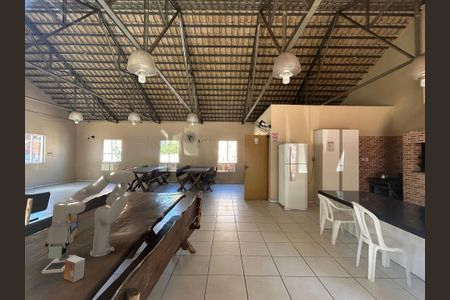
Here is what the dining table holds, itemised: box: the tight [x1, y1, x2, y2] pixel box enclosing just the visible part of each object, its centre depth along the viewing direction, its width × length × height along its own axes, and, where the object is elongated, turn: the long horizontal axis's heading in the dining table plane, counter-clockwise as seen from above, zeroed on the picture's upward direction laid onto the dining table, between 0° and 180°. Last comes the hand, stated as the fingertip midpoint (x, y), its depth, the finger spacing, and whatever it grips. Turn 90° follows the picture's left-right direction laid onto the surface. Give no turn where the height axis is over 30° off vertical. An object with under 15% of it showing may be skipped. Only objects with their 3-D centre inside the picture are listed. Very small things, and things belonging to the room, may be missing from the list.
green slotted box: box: [47, 244, 63, 260], centre depth 122 cm, size 6×6×6 cm
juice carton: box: [67, 213, 80, 243], centre depth 160 cm, size 12×8×24 cm, turn 11°
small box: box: [63, 255, 86, 283], centre depth 115 cm, size 8×6×10 cm
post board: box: [41, 245, 77, 275], centre depth 127 cm, size 18×10×10 cm, turn 16°
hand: (56, 254), depth 122 cm, fingers closed on green slotted box, 6 cm apart
